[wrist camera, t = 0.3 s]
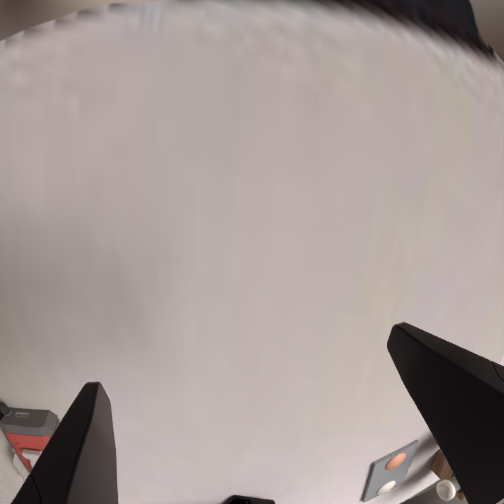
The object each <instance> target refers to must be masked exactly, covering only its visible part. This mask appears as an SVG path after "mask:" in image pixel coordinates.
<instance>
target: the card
mask: <svg viewBox="0 0 504 504" xmlns="http://www.w3.org/2000/svg"><path fill="white" fill-rule="evenodd" d="M418 443H419V442H418V441H417V440H416V441H414V442H412V443H410V444H409V445H407V446H405V447H403V448H401V449H399V450H397V451H395V452H393V453H391V454H389V455H387V456H385V457H383V458H381V459H379V460H377V461H375V462H373V466H372V469H371V473H370V476H369V480H368V483H367V486H366V490H365V493H364V496H363V499H362V501H363V503H364V502H366V501H368V500H371V499H373V498H375V497H377V496H379V495H382V494H384V493H386V492H388V491H389V490H391V489H393V488H395V487H397V486H398V485H400V484H402V483H403V481H404V479H405V476H406V474H407V472H408V469H409V467H410V464H411V462H412V459H413V457H414V454H415V451H416V449H417V446H418Z"/></svg>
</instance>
